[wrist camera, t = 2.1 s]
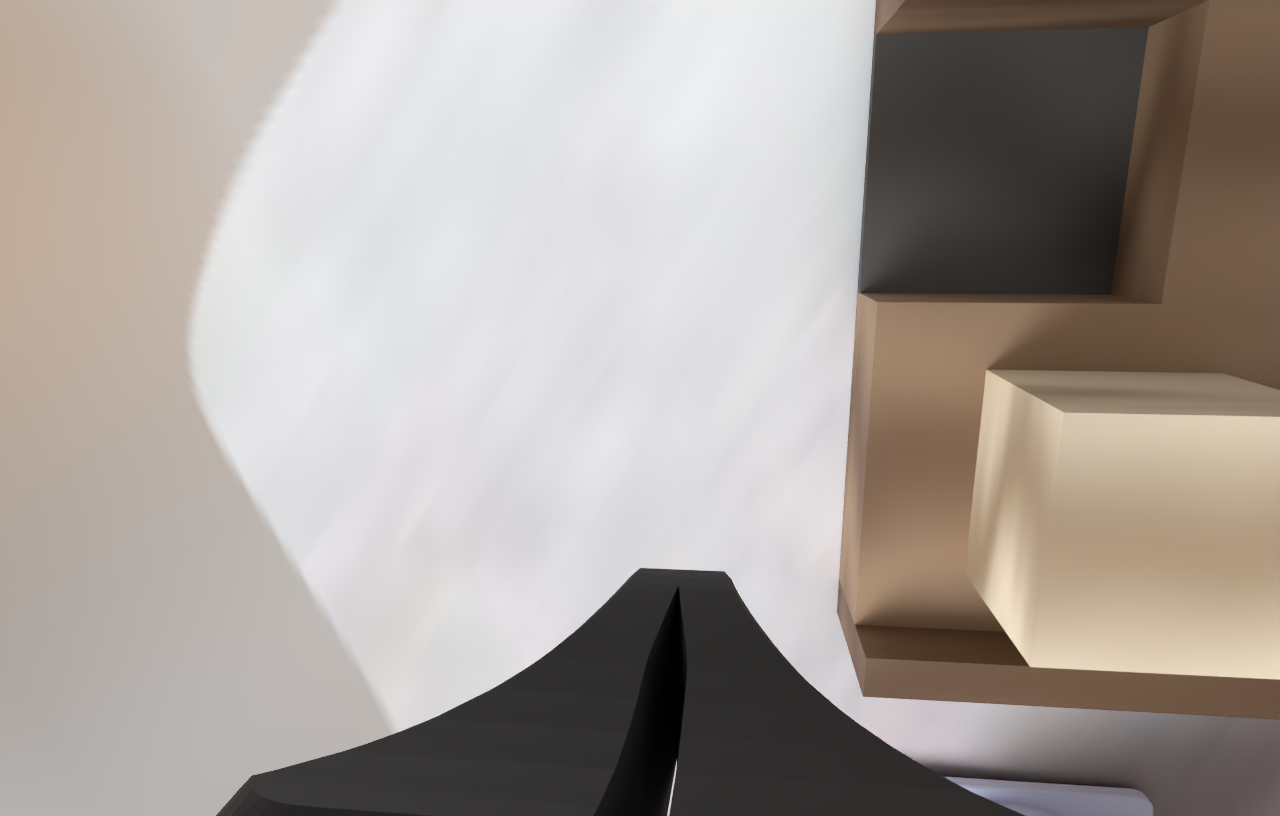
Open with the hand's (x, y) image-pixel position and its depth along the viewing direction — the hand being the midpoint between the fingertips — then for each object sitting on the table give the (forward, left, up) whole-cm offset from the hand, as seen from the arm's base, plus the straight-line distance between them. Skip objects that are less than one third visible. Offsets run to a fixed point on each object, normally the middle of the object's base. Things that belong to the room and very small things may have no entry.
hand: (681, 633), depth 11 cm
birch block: (0, -9, -8) cm, 12 cm away
